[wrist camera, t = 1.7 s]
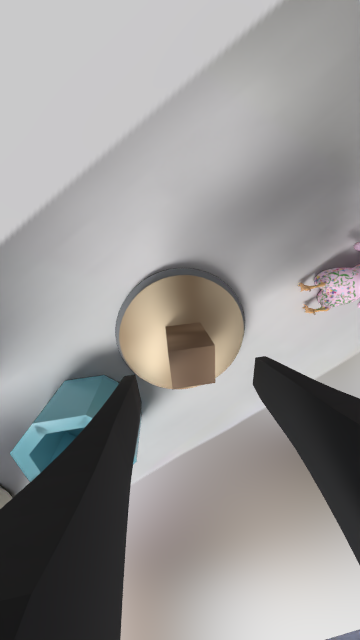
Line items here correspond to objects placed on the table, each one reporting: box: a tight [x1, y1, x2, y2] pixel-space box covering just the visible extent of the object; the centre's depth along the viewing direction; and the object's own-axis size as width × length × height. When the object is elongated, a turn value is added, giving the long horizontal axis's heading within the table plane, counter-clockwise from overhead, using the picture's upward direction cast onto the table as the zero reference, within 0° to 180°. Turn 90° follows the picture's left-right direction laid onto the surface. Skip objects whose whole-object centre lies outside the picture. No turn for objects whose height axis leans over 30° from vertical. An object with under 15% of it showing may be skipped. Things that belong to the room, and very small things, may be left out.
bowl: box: [10, 375, 141, 482], centre depth 16 cm, size 9×9×4 cm
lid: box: [119, 275, 244, 389], centre depth 13 cm, size 11×11×5 cm
